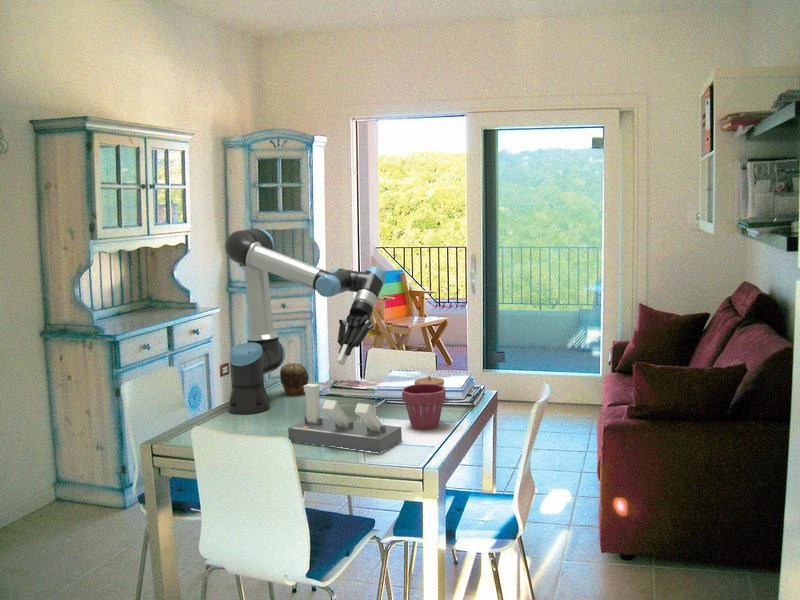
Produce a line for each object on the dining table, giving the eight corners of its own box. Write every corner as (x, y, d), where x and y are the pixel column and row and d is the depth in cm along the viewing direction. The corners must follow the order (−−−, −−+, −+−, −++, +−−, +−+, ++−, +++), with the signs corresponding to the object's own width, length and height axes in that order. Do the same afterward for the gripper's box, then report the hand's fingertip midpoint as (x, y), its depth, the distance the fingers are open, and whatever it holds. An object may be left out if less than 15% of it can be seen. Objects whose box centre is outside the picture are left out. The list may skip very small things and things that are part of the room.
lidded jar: (441, 396, 323) (440, 371, 322) (447, 403, 312) (446, 378, 311) (412, 398, 321) (412, 374, 320) (418, 405, 311) (417, 380, 309)
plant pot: (396, 430, 281) (395, 392, 280) (413, 418, 294) (411, 382, 292) (437, 434, 276) (436, 395, 274) (452, 422, 288) (451, 384, 287)
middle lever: (341, 420, 273) (325, 399, 264) (352, 421, 271) (336, 400, 262) (338, 428, 271) (321, 408, 262) (349, 430, 269) (333, 409, 261)
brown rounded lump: (275, 394, 335) (273, 364, 333) (296, 389, 343) (295, 359, 341) (293, 398, 327) (291, 367, 326) (315, 392, 335) (313, 362, 334)
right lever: (373, 424, 267) (357, 403, 259) (384, 425, 266) (369, 404, 257) (370, 432, 266) (354, 411, 257) (381, 434, 264) (366, 412, 255)
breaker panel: (313, 429, 285) (312, 410, 284) (401, 441, 270) (401, 420, 269) (288, 441, 273) (287, 421, 272) (380, 454, 257) (379, 432, 256)
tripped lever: (311, 421, 278) (309, 383, 276) (321, 422, 276) (319, 384, 275) (305, 423, 276) (303, 385, 274) (316, 424, 274) (314, 386, 272)
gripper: (383, 312, 300) (361, 370, 288) (351, 311, 306) (328, 367, 294) (375, 300, 295) (352, 357, 283) (342, 298, 301) (319, 355, 289)
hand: (340, 362), depth 288 cm, fingers closed
